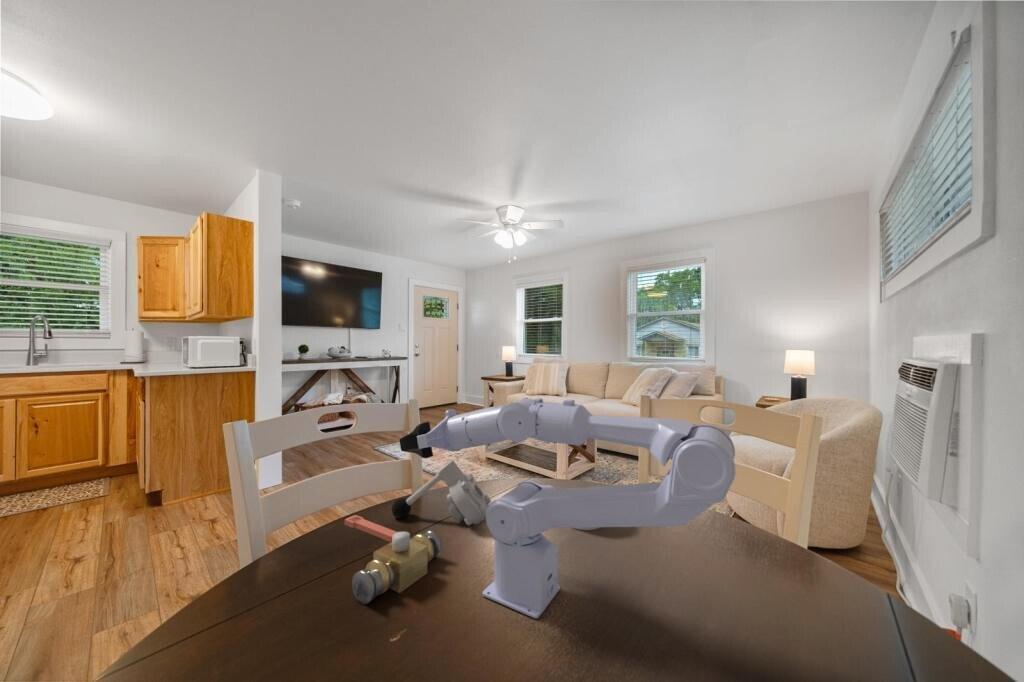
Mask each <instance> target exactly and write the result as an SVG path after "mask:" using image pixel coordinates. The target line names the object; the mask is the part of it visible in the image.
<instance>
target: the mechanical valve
mask: <svg viewBox="0 0 1024 682" xmlns="http://www.w3.org/2000/svg"><path fill="white" fill-rule="evenodd" d="M441 480H443V482H444V483H445V485H446V486H447V487H448V490H449V493H448V494H447V495H446V499H447V502H446V509H447V512H448V513H449V514H450V516H451V517H452V519H453V520H455V521H456V522H458V523H462V522H463V521H464V522H465V524H466V525H467V526H471V525H472V524H474V525H478V524H480V523H481V522H482V521H483V520H484V519H485V520H486V511H487V508H488V506H489V504H490V503H491V502H492V500H491V498H490V496H489V495H487V494H484V492H483V490H482V489H481V488H480V486H479V485H478V484H477V483H476V482H475V477H474V475H473V474H471V473H469V474H464V473H463V471H462V470H461V469H460V467H459V466H458V465H457V463H456V462H455V460H450V461H449V462H448V463H446V464H445V466H442V468H441V469H439V471H438V472H437V474H435V475H434V476H433V477H432V478H431V479H429V481H428V482H426V483H425V484H423V486H421V487H420V488H418V489H417V490H416V491H415V492H414V493H412V495H410V496H409V497H408V498H405V497H399V498H397V499H395V500H394V502H393V503H392V506H391V513H392V515H393V516H394V517H395V518H396V519H405V518H406V517H408V516H409V515H410V513H411V511H412V505H413V503H414V502H416V501H417V500H418V499H419V498H421V497H422V496H423V495H424V494H425V493H426V492H428V491H429V490H431V488H433V487H435V485H436V484H438V483H439V482H440V481H441ZM400 498H401V499H400Z"/></svg>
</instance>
